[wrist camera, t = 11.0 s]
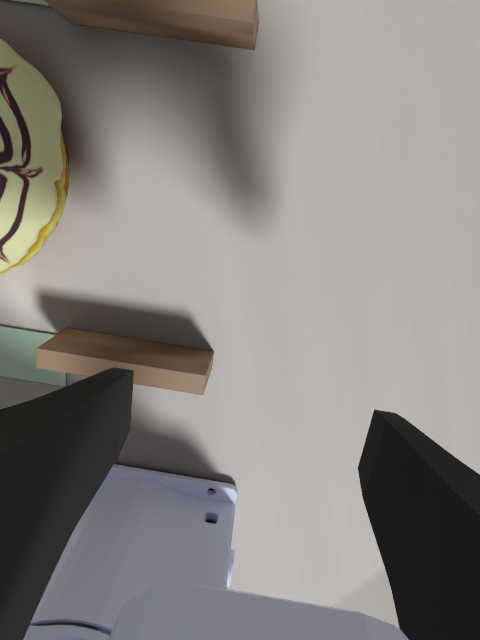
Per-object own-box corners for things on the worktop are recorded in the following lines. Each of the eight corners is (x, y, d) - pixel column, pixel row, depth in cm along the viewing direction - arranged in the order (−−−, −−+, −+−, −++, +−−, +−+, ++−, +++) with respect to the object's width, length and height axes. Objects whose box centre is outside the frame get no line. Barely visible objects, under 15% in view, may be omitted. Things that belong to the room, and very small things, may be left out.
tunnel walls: (258, 22, 17) (256, -12, 14) (211, 368, 22) (203, 395, 19) (71, -5, 17) (31, -44, 14) (66, 344, 22) (36, 367, 19)
